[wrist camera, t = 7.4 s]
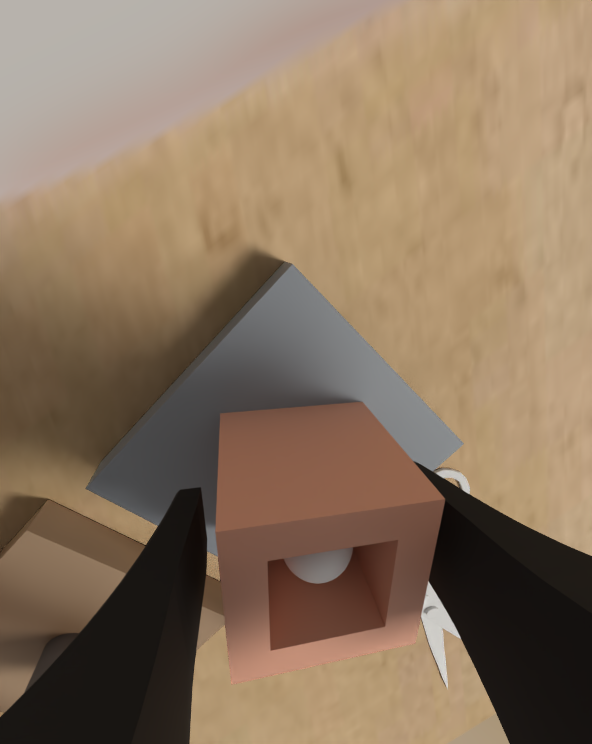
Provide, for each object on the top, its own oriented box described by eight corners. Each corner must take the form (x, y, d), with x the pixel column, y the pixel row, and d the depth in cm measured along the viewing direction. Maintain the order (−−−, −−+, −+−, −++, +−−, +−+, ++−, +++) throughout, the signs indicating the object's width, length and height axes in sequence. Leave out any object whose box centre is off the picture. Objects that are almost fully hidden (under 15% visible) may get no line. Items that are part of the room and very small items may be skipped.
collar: (353, 510, 14) (415, 643, 9) (230, 528, 13) (231, 684, 8) (362, 401, 12) (445, 499, 7) (220, 413, 11) (215, 531, 7)
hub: (288, 566, 16) (319, 729, 11) (101, 461, 13) (3, 631, 7) (442, 425, 15) (565, 530, 10) (284, 261, 11) (339, 279, 6)
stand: (114, 695, 17) (61, 907, 12) (-82, 642, 14) (-284, 904, 8) (230, 586, 16) (232, 764, 11) (48, 499, 13) (-89, 695, 7)
